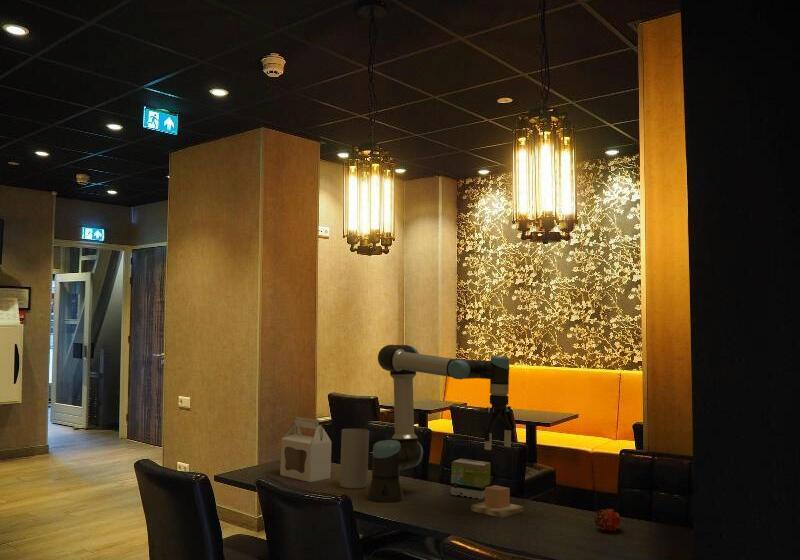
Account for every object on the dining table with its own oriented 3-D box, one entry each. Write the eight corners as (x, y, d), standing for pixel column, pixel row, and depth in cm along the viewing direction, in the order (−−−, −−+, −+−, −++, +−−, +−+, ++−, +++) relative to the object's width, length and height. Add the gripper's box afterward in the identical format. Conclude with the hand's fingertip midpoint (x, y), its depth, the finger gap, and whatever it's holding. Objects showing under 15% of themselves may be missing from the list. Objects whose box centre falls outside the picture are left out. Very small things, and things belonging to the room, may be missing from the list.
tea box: (449, 495, 293) (450, 460, 294) (458, 491, 302) (459, 457, 303) (482, 500, 286) (483, 464, 287) (490, 495, 295) (491, 461, 296)
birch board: (470, 510, 267) (470, 505, 267) (492, 504, 278) (492, 499, 278) (502, 517, 257) (502, 512, 257) (523, 511, 268) (523, 506, 268)
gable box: (279, 475, 326) (282, 416, 329) (300, 471, 336) (303, 415, 339) (309, 482, 311) (312, 421, 314) (330, 478, 321) (333, 419, 324)
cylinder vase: (366, 489, 299) (368, 432, 302) (338, 488, 300) (340, 431, 302) (368, 483, 312) (369, 429, 314) (341, 482, 312) (343, 428, 315)
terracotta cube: (484, 505, 268) (485, 487, 268) (495, 502, 273) (495, 485, 273) (499, 508, 263) (499, 490, 264) (509, 506, 268) (509, 488, 269)
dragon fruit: (595, 537, 240) (614, 537, 247) (613, 527, 236) (632, 527, 243) (585, 514, 245) (603, 515, 252) (603, 504, 241) (621, 504, 248)
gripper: (488, 396, 260) (487, 452, 258) (524, 394, 278) (522, 446, 276) (473, 394, 265) (471, 449, 264) (508, 393, 284) (507, 444, 282)
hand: (497, 448), depth 270 cm, fingers open, 13 cm apart
